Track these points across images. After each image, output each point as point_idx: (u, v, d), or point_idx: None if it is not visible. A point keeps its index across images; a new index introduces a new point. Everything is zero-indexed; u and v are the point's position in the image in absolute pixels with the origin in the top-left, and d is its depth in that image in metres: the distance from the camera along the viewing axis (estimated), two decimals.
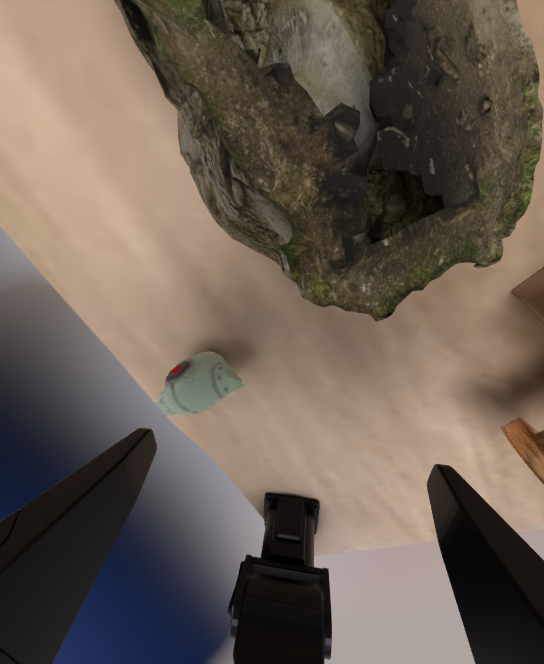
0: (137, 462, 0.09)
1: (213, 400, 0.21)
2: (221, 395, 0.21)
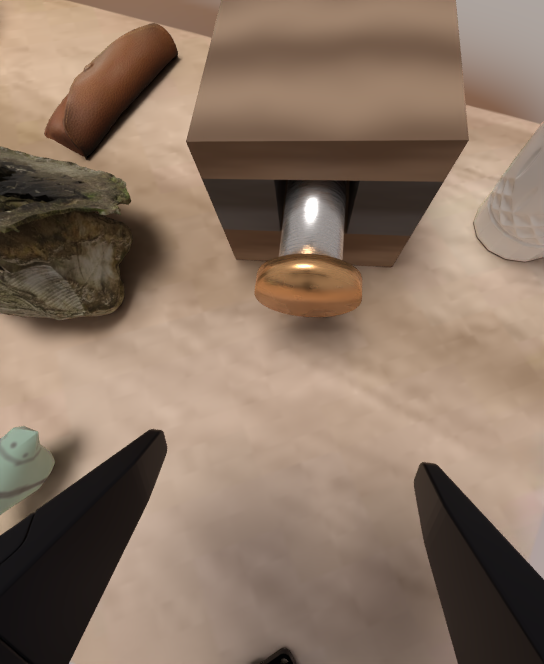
0: (149, 464, 0.09)
1: None
2: (9, 455, 0.18)
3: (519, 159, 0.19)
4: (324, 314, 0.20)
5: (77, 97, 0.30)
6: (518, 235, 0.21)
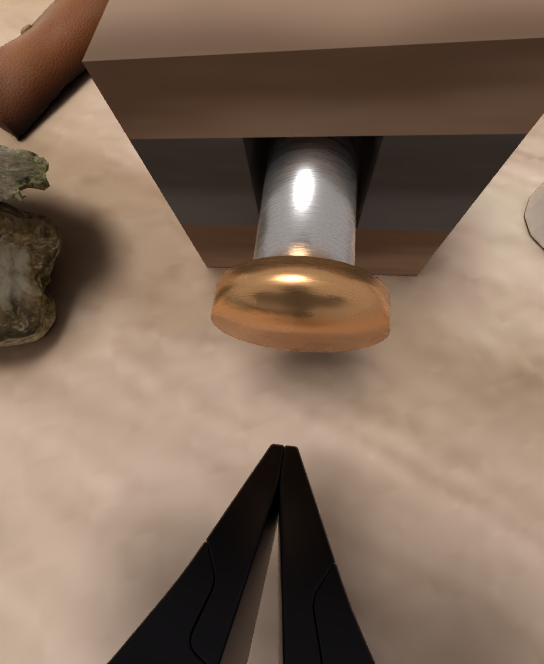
0: None
1: None
2: None
3: None
4: (326, 349, 0.13)
5: (4, 61, 0.24)
6: None
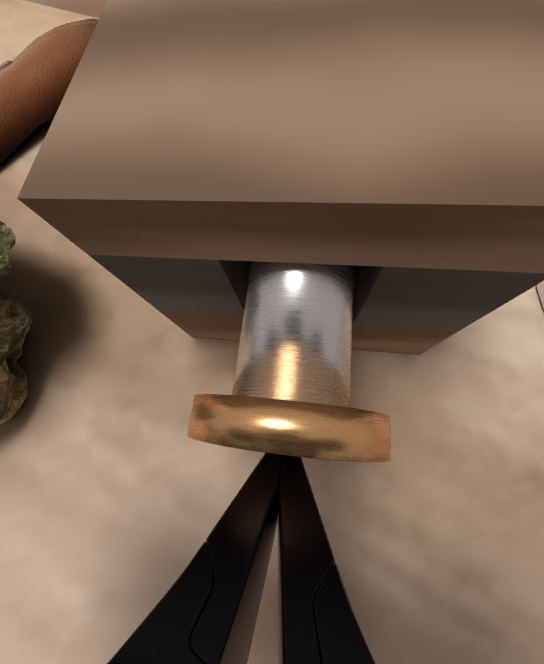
0: None
1: None
2: None
3: None
4: None
5: None
6: None
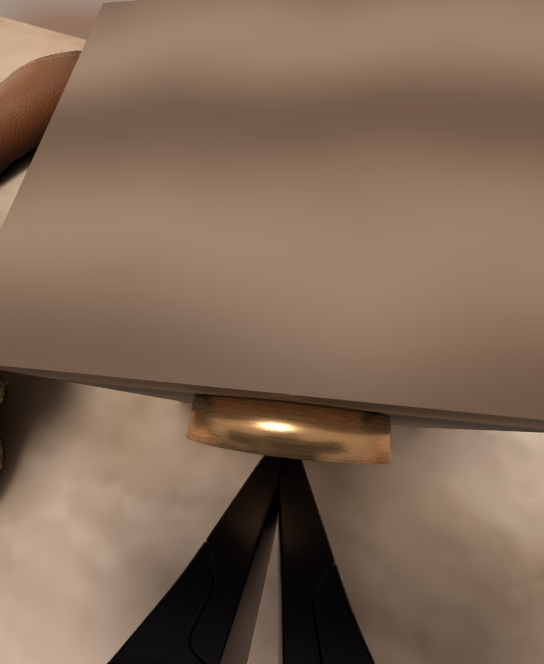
0: None
1: None
2: None
3: None
4: None
5: None
6: None
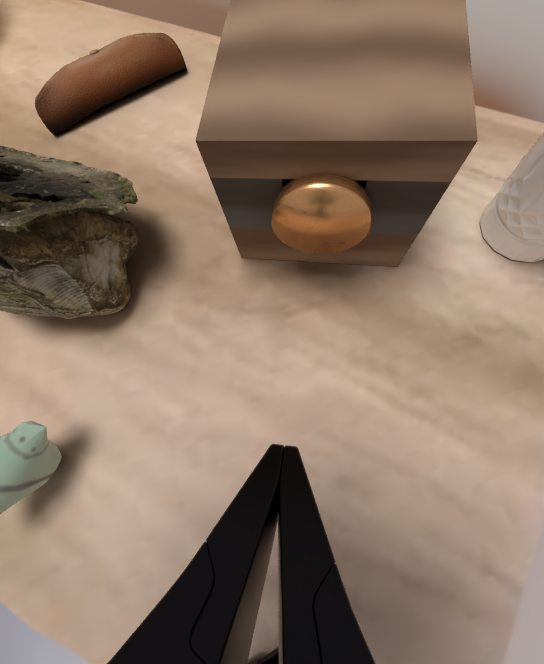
0: None
1: (5, 458, 0.18)
2: (17, 449, 0.18)
3: (527, 160, 0.19)
4: (334, 249, 0.21)
5: (60, 80, 0.31)
6: (525, 236, 0.21)
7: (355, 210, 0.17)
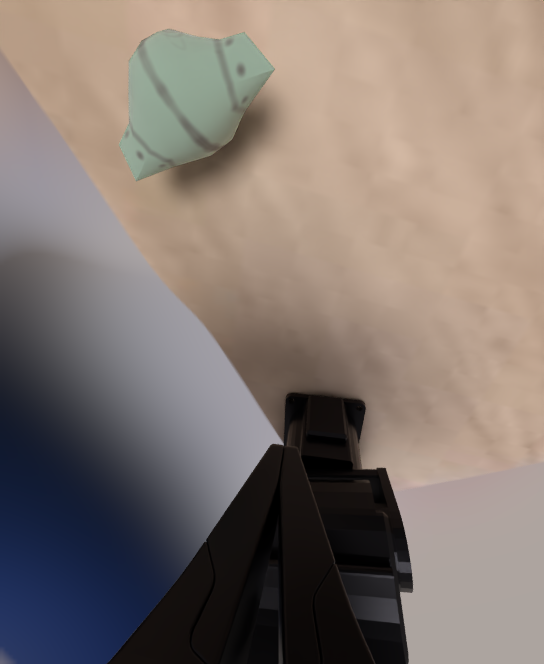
0: None
1: (216, 91, 0.11)
2: (232, 86, 0.11)
3: None
4: None
5: None
6: None
7: None
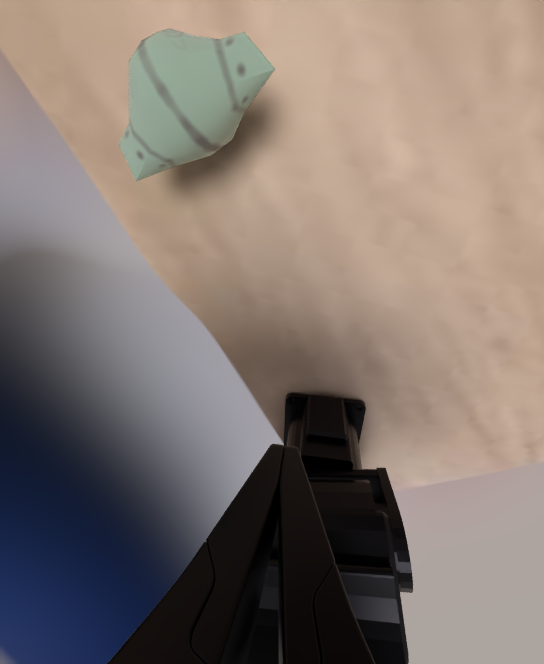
0: None
1: (217, 91, 0.11)
2: (232, 86, 0.11)
3: None
4: None
5: None
6: None
7: None
